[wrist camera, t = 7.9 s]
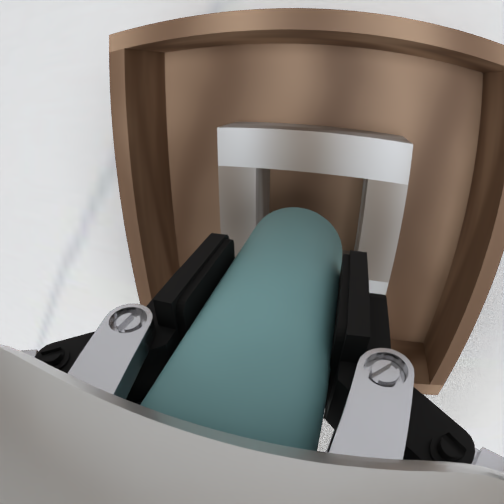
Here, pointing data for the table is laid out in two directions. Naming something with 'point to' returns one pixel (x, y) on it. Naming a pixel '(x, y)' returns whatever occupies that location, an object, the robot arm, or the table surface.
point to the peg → (262, 338)
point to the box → (321, 153)
